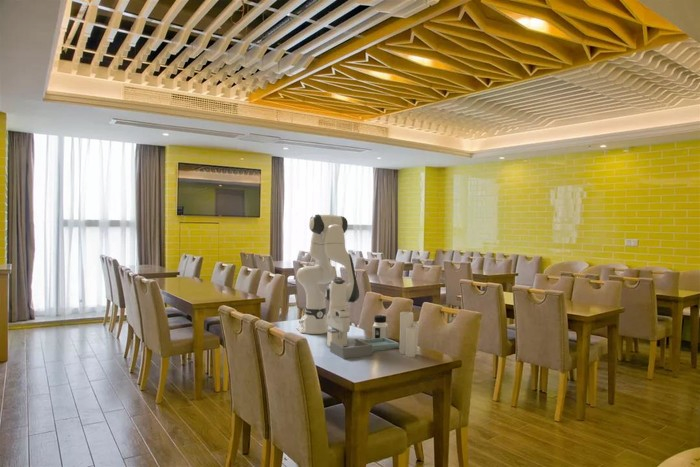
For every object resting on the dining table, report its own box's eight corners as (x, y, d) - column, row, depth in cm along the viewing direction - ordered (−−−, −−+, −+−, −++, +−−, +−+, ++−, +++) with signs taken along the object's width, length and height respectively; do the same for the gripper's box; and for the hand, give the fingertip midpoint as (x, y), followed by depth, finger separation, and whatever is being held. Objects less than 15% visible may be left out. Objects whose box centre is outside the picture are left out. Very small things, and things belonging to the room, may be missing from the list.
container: (385, 340, 271) (386, 317, 271) (372, 339, 273) (372, 316, 272) (387, 337, 279) (388, 314, 278) (374, 336, 280) (374, 313, 280)
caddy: (327, 344, 256) (327, 329, 255) (342, 343, 260) (342, 327, 260) (331, 346, 251) (331, 331, 251) (347, 345, 255) (347, 329, 255)
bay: (330, 351, 246) (330, 341, 245) (357, 348, 253) (357, 338, 253) (343, 359, 233) (343, 348, 232) (371, 355, 240) (371, 345, 240)
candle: (396, 351, 247) (397, 312, 247) (408, 350, 250) (409, 311, 250) (409, 357, 237) (410, 316, 237) (421, 355, 240) (422, 315, 240)
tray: (355, 345, 259) (355, 340, 259) (384, 341, 268) (384, 337, 268) (368, 351, 247) (369, 346, 247) (398, 347, 255) (399, 343, 255)
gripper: (323, 307, 263) (323, 333, 263) (341, 314, 245) (340, 342, 245) (334, 307, 266) (334, 332, 266) (352, 313, 248) (351, 341, 248)
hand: (337, 337), depth 255 cm, fingers closed on caddy, 5 cm apart
